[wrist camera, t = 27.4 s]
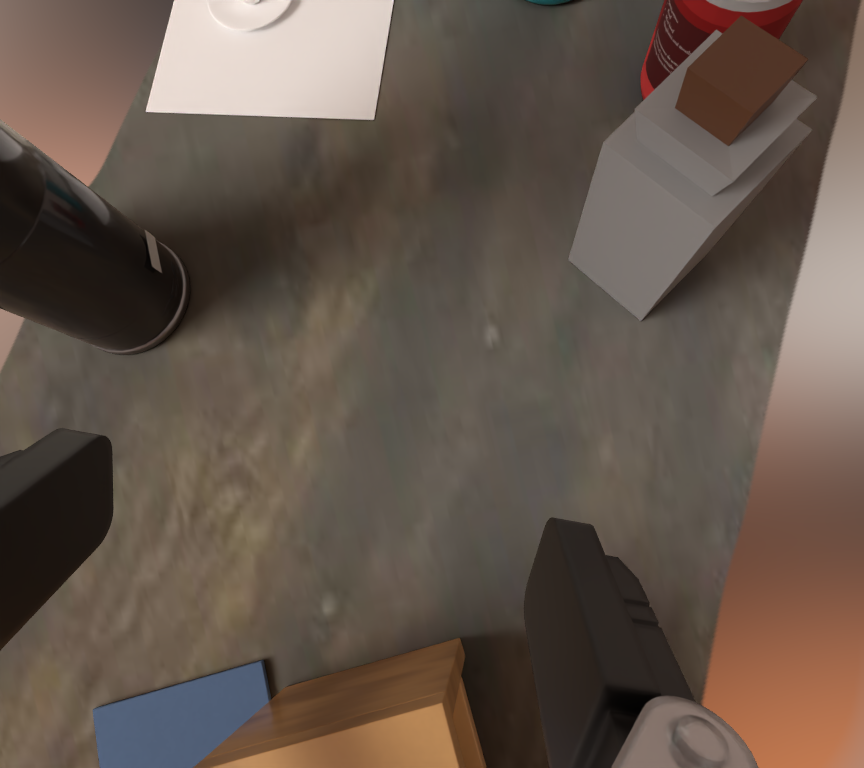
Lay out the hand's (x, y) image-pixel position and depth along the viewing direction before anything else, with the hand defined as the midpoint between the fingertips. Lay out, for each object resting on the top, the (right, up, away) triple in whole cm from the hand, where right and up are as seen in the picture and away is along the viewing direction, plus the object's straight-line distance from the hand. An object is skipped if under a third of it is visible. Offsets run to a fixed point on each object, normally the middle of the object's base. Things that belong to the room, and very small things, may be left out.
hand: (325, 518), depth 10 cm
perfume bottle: (+17, +11, +30) cm, 36 cm away
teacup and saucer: (-11, +34, +38) cm, 52 cm away
